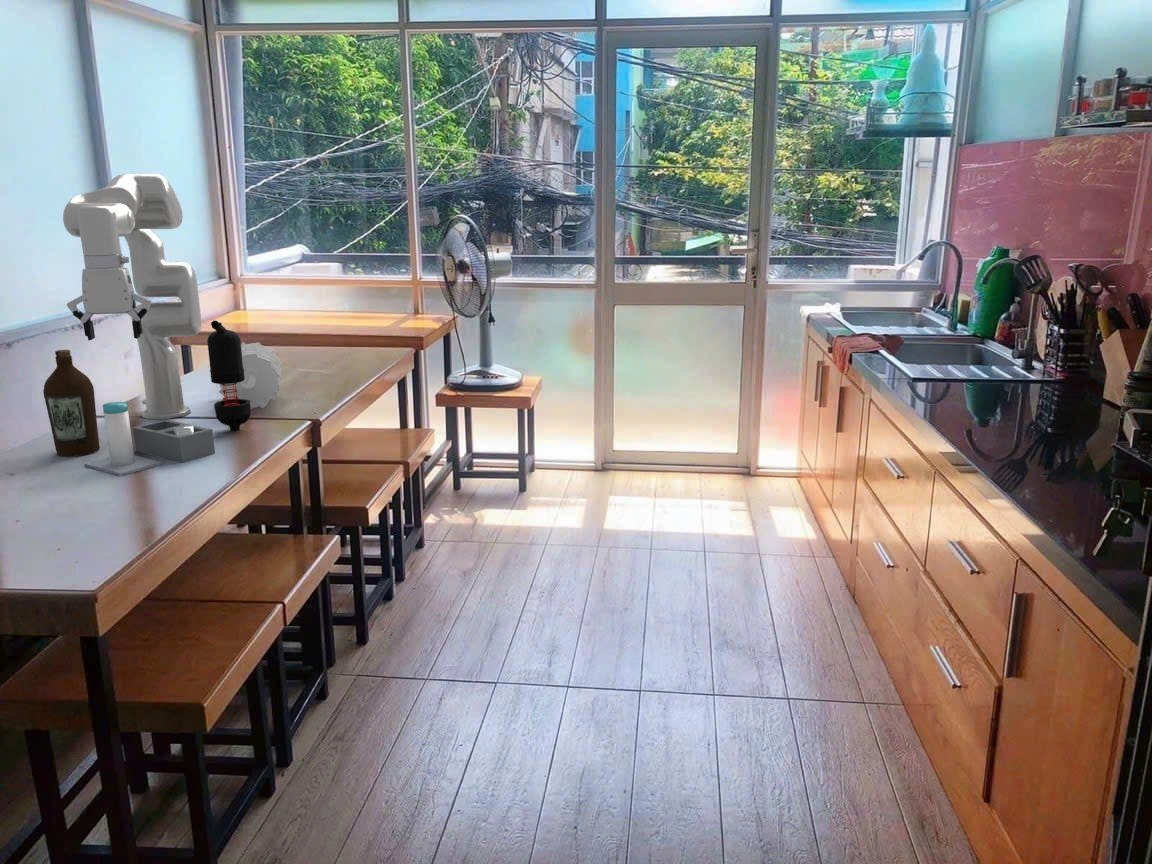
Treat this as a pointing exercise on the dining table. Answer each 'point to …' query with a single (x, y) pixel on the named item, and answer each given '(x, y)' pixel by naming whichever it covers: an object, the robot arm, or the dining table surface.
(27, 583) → the dining table surface
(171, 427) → the housing
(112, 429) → the cylinder
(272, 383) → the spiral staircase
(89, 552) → the dining table surface
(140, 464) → the mat
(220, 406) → the filter
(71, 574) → the dining table surface
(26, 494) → the dining table surface
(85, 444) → the olive oil
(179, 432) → the silver metallic cylinder
